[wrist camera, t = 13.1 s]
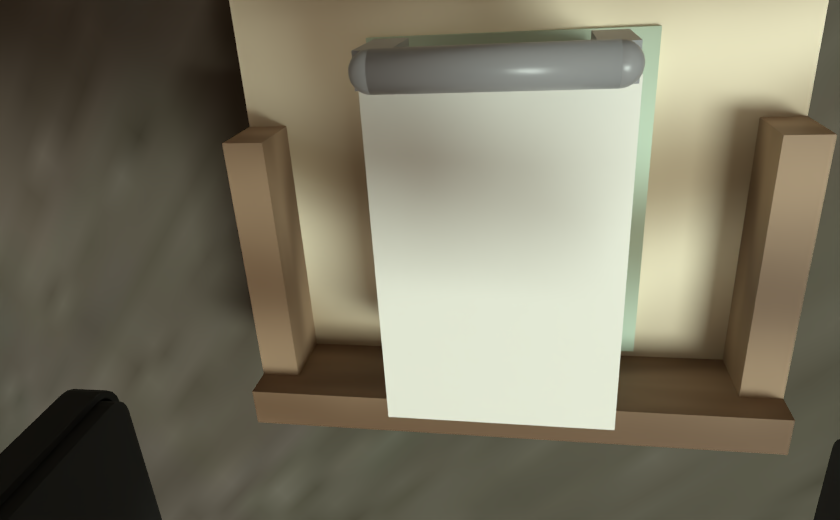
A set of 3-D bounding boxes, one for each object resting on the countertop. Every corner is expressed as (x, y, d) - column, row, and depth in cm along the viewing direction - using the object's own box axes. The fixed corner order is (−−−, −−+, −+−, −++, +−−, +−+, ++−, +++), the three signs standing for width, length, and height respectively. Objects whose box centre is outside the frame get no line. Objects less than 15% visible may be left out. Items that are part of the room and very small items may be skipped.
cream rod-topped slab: (396, 21, 18) (333, 52, 13) (621, 11, 17) (658, 40, 12) (417, 329, 23) (375, 456, 17) (600, 335, 22) (620, 473, 16)
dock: (244, -123, 20) (148, -148, 15) (822, -174, 17) (933, -224, 12) (310, 335, 27) (258, 422, 22) (736, 351, 24) (787, 454, 19)
